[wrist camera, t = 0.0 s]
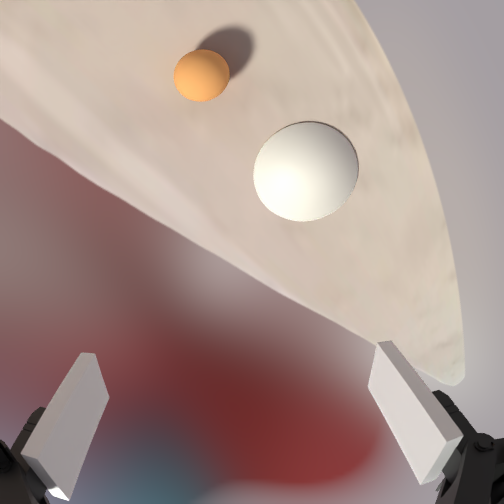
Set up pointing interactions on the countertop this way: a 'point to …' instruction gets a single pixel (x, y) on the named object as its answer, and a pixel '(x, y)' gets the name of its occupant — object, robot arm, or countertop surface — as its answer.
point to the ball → (201, 75)
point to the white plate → (305, 171)
